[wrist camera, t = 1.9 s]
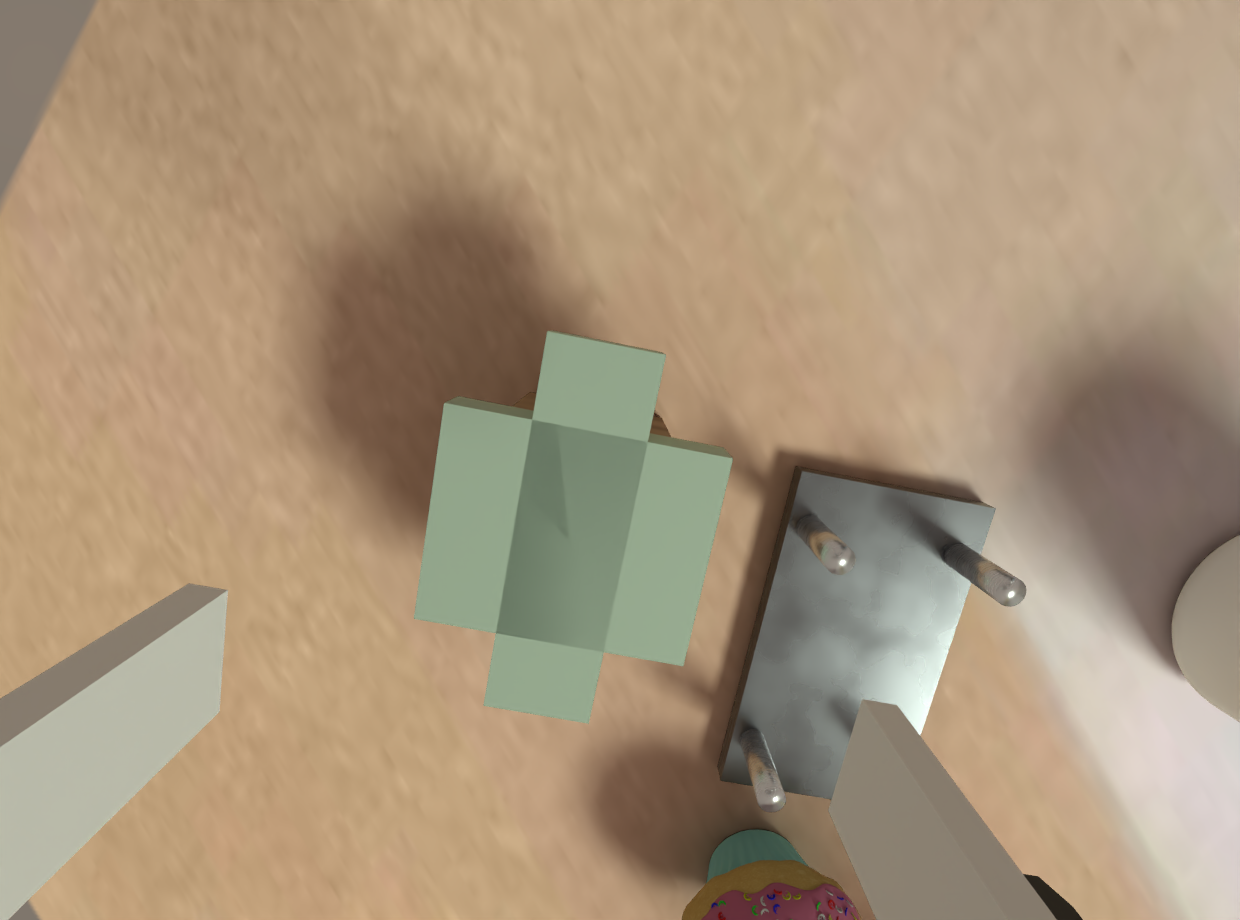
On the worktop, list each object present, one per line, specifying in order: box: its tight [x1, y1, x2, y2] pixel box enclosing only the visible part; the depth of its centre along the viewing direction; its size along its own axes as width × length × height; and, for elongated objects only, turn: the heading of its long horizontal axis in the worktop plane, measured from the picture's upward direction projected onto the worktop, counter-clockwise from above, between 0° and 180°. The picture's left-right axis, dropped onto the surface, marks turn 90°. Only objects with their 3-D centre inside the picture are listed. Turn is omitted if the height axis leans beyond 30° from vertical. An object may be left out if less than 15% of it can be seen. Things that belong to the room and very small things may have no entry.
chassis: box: [717, 466, 1026, 812], centre depth 29 cm, size 16×9×5 cm, turn 169°
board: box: [414, 331, 733, 724], centre depth 23 cm, size 14×10×2 cm
